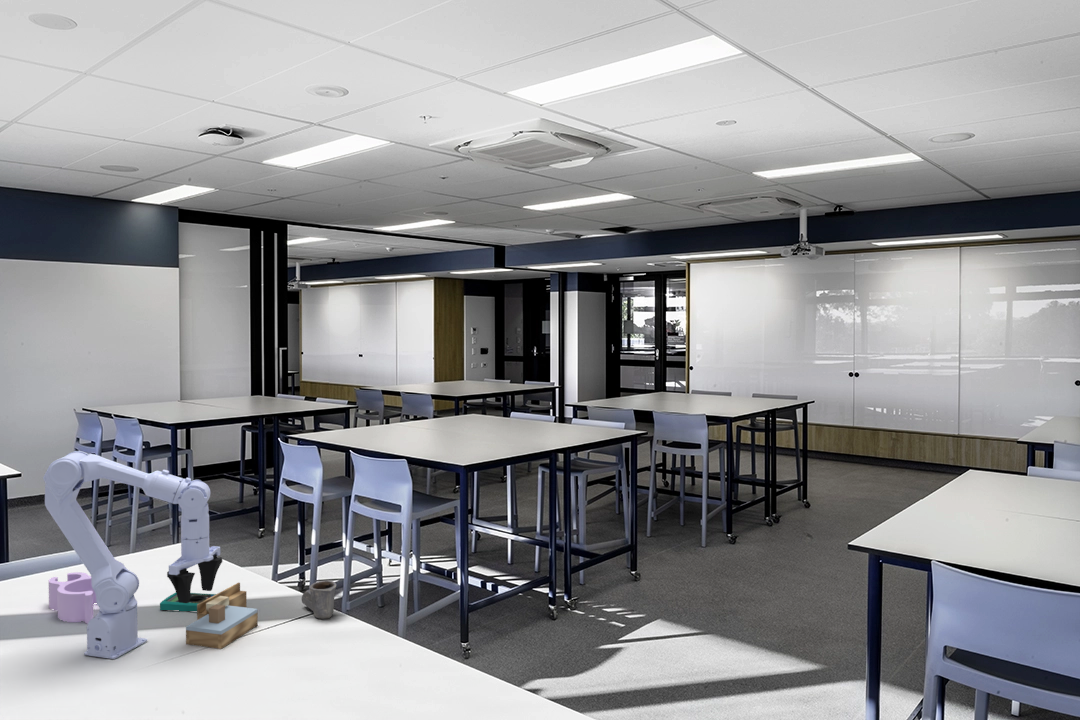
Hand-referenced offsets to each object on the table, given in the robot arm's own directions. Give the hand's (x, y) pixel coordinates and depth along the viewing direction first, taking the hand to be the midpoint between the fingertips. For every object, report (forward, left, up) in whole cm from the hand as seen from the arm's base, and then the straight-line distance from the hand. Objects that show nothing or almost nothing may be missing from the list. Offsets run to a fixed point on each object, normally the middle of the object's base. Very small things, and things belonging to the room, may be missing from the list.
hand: (195, 596), depth 165 cm
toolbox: (+8, -3, -10) cm, 13 cm away
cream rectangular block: (+7, 0, -5) cm, 9 cm away
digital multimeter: (+16, +14, -11) cm, 24 cm away
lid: (+4, -4, -8) cm, 10 cm away
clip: (+7, +39, -10) cm, 41 cm away
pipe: (+20, -18, -10) cm, 29 cm away
